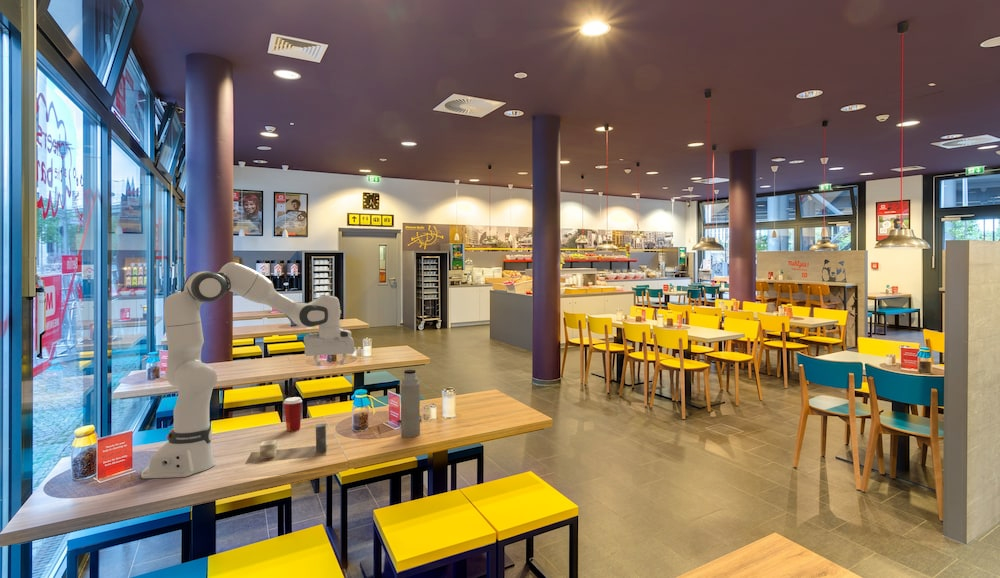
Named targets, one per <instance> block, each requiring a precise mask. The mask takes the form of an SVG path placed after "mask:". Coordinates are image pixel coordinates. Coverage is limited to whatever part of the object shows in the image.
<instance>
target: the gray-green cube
mask: <svg viewBox="0 0 1000 578" xmlns="http://www.w3.org/2000/svg"><path fill="white" fill-rule="evenodd" d="M277 450H278V449H277V440H276V439H273V440H271V439H270V440H263V441H262V442H261V443H260V445H259V451H260V459H263V458H273V457H275V455H276V453H277Z"/></svg>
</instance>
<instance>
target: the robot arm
mask: <svg viewBox="0 0 1000 578" xmlns="http://www.w3.org/2000/svg"><path fill="white" fill-rule="evenodd" d="M228 292H232V293H234V294H236V295H239V297H242V298H244V299H246V300H248V301H251V302H254V303H258V304H262V305H267V306H268V307H271V308H273V309H274V310H276V311H278V312H280V313H282V314H284V315H285V316H286V317H287V318H288V320H289V321H290V323H291V324H293V325H296V326H298V327H301V326H302V327H307V328H313V327H316V326H318V333H307V334H306V335H304V337H303V342H304V344H305V346H304V355H305V356H306V357H310V356H311V357H312V356H313V359H314V362H316V367H320V366H321V363H322V362H321V361H320V360H318V356H335V355H336V356H337V355H342V359H340V360H339V366H343V365H344V363H345V359H346V358H347V355H353V354H354V353H355V352H356V350H355V349H356V348H355V342H354V338H353V337H352V331H351V330H349V329H345V328H341V322H340V319H341V304H340V300H339V298H338V297H337V296H335V295H329V294H321V295H320V296H318V297H317V298H315V299H314V300H312V301H310V302H301V301H294V300H292V299H291V298H289V297H287V296H285V295H283V294H281V293H280V292H278V291H276V289H275V287H274V283H273V281H272V280H271V279H269V278H268V277H267V276H265V275H264V274H262V273H261V272H259V271H258V270H255V269H253V268H251V267H249V266H246V265H244V264H241V263H238V262H235V261H230V262H227V263H226V264H224V265H223V266H222V267H221V268H220V270H219V271H217V272H216V271H215V272H211V271H208V270H200V271H199V270H198V271H195V272H193V273H191V274H190V275H189V276H188V277H187V278H186V280H185V281H184V283H183V285H182V288H181V289H180V291H179V292H174V293H172V294H170V295H168V296H167V297H166V298H165V299H164V304H163V305H164V306H163V317H164V318H163V320H164V328H165V334H166V336H165V337H166V343H167V358H166V359H167V361H166V369H165V373H164V375H165V378H166V380H167V382H168V383H169V384H170V385H171V387H174V388H176V389H177V390H178V391H177V392H178V394H177V398H176V404H175V406H174V408H173V428H172V429H171V430H169V433H168V434H167V435H166V440H167V442H166V443H164V444H163V445H162V446H161V447H160V448H158V449H157V450H156V451H155V452H154V453H152V455H151V457H150V458H149V459H150V460H149V463H148V466H146V467H145V468H144V469H143V470H142V471H141V474H140V478H142V479H164V478H165V479H168V478H186V477H189V476H191V475H194V474H196V473H200V472H204V471H206V470H208V469H211V468H213V467H214V466H215V465H216V460H215V457H214V454H213V448H212V439H213V438H212V437H213V435H212V434H213V433H212V432H213V431H212V426H211V425H210V422H211V421H210V403H211V397H212V393H213V389H214V387H215V386H216V384H217V381H218V375H217V372H216V371H215V369H214V368H213V367H212V366H211V365H210V364H208V363H205V362H203V361H202V348H203V345H204V343H205V342H204V341H205V340H204V333H203V332H204V331H203V325H202V318H201V307H202V305H203V303H213V302H215V301H218V300H220V299H221V298H222V297H223V296H224V295H226V293H228Z"/></svg>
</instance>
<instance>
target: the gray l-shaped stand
mask: <svg viewBox="0 0 1000 578" xmlns="http://www.w3.org/2000/svg"><path fill="white" fill-rule="evenodd" d="M327 450H328V444H327V423H319V424H318V423H317V424H315V445H314V446H313V445H312V446H304V447H293V448H291V447H290V448H283V449H282V448H281V449H277V453H276V455H275V457H273V458H263V459H260V450H259V451H251V452H250V455H248V458H247V460H246V461H245V463H244V464H255V463H265V462H273V461H285V460H295V459H304V458H313V457H314V458H315V457H323V456H324V457H325V456H327Z"/></svg>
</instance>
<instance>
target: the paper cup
mask: <svg viewBox="0 0 1000 578" xmlns="http://www.w3.org/2000/svg"><path fill="white" fill-rule="evenodd" d="M302 402H303V400H302V398H301V397H299V396H293V397H291V396H290V397H287V398H285V399H284V401H283V404H284V415H285V425H286V426H285V427H286V431H287V432H289V431H294V432H298V431H300V430H301V419H302ZM299 429H300V430H299ZM297 430H298V431H297Z"/></svg>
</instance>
